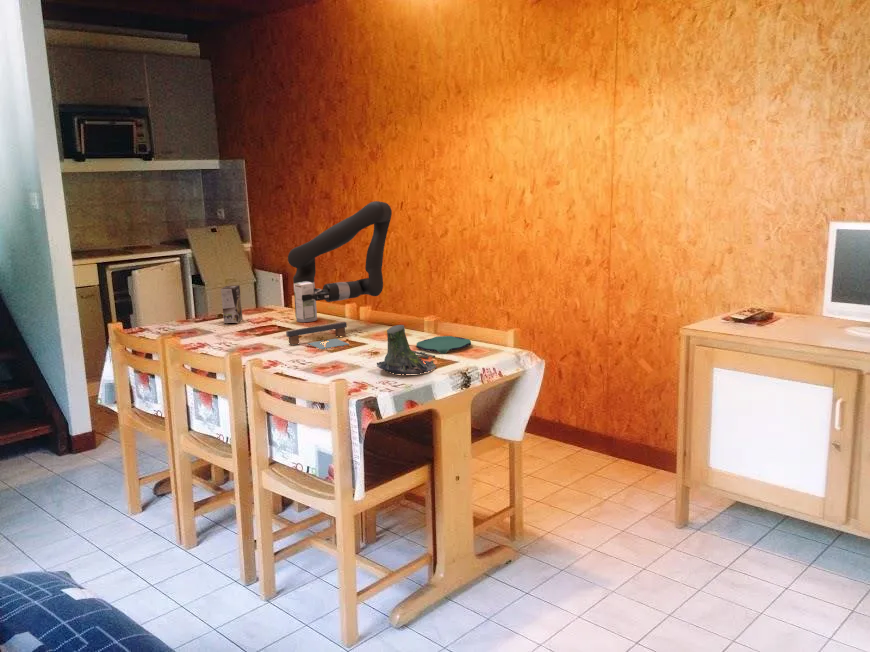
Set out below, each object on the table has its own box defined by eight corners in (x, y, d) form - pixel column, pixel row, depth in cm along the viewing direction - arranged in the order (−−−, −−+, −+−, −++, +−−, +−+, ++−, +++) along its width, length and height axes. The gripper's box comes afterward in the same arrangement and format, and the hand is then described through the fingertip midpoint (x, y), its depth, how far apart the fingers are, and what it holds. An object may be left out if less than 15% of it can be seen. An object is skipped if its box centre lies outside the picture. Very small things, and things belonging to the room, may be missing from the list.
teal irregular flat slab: (481, 346, 281) (481, 340, 280) (422, 364, 261) (422, 358, 260) (443, 339, 295) (443, 333, 295) (385, 356, 275) (385, 350, 274)
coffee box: (238, 324, 336) (234, 288, 333) (223, 324, 336) (220, 288, 333) (243, 319, 345) (240, 284, 341) (229, 320, 345) (225, 285, 342)
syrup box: (307, 315, 310) (304, 280, 307) (315, 317, 306) (313, 282, 303) (295, 318, 307) (292, 282, 303) (303, 320, 302) (301, 284, 299)
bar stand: (289, 344, 295) (288, 335, 294) (342, 335, 307) (341, 326, 306) (292, 345, 292) (291, 336, 292) (345, 336, 304) (345, 327, 304)
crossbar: (286, 336, 293) (286, 331, 293) (344, 326, 306) (344, 321, 306) (288, 337, 292) (288, 331, 291) (346, 327, 304) (346, 322, 304)
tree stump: (449, 370, 252) (438, 322, 245) (399, 396, 242) (386, 346, 235) (419, 357, 266) (408, 311, 259) (371, 380, 257) (358, 333, 250)
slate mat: (307, 344, 293) (307, 343, 293) (335, 339, 299) (335, 338, 299) (320, 350, 283) (320, 349, 283) (349, 345, 289) (349, 343, 289)
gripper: (328, 280, 317) (291, 285, 308) (343, 285, 305) (305, 290, 296) (329, 298, 319) (292, 303, 310) (344, 303, 307) (306, 308, 298)
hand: (298, 296), depth 303 cm, fingers closed on syrup box, 6 cm apart
